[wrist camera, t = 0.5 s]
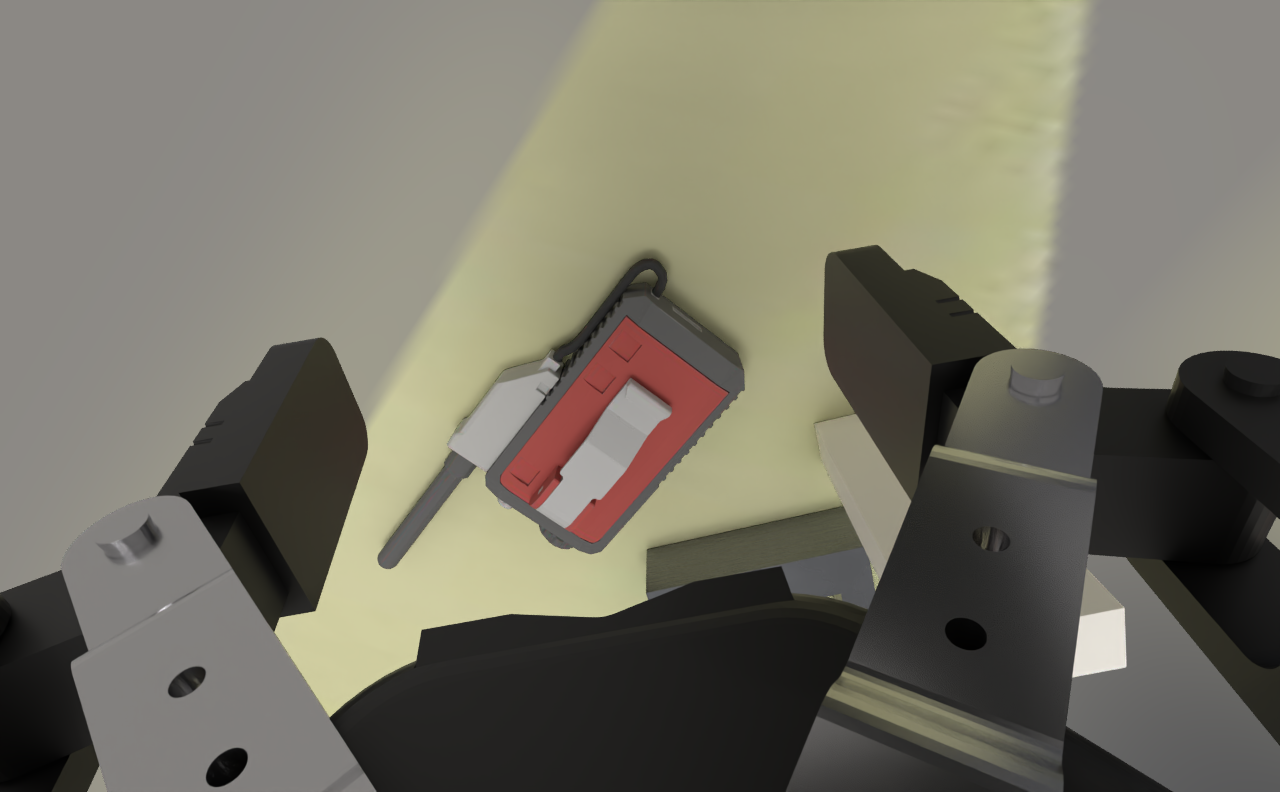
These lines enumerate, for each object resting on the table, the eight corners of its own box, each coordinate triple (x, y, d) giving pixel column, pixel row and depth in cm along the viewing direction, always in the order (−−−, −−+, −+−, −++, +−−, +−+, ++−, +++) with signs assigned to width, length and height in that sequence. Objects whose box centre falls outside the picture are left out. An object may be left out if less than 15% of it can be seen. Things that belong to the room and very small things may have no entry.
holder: (846, 505, 35) (866, 546, 31) (871, 635, 38) (892, 685, 34) (646, 549, 36) (646, 593, 33) (685, 673, 39) (687, 724, 35)
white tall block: (922, 396, 33) (1124, 604, 19) (928, 436, 33) (1126, 667, 19) (813, 421, 33) (930, 642, 19) (821, 461, 34) (939, 702, 20)
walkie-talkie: (610, 218, 30) (374, 538, 36) (604, 235, 26) (338, 592, 32) (767, 341, 32) (517, 626, 38) (784, 374, 28) (501, 688, 34)
